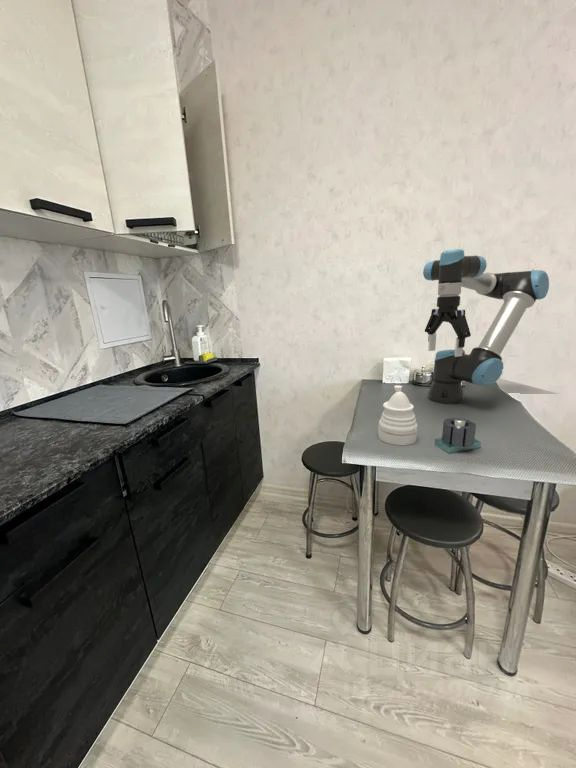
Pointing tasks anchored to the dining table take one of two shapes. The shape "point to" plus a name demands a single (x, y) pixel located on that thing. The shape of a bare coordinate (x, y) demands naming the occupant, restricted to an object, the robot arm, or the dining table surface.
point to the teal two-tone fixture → (452, 448)
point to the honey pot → (398, 420)
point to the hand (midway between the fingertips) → (444, 353)
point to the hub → (458, 433)
